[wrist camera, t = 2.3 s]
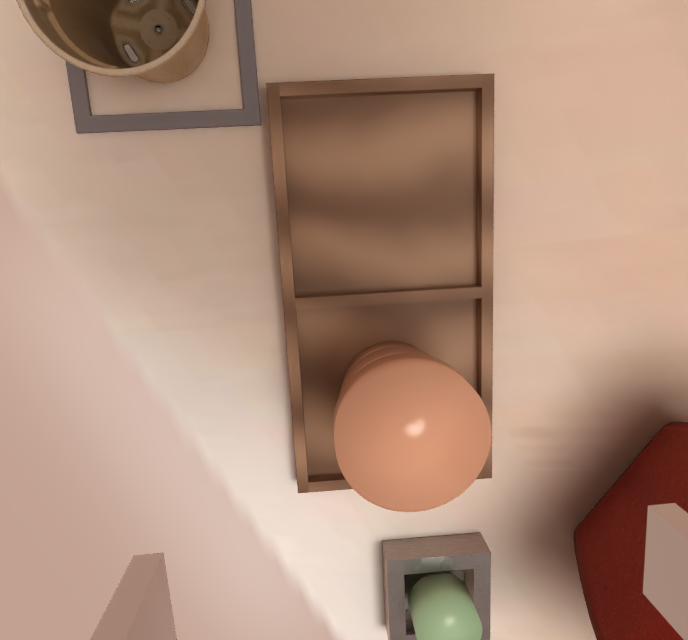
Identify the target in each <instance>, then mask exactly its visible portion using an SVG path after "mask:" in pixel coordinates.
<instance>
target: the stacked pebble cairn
mask: <svg viewBox="0 0 688 640" xmlns="http://www.w3.org/2000/svg"><path fill="white" fill-rule="evenodd" d="M333 433H334V444H335V452H336V458H337V461H338V465H339V467H340V470H341V472H342V474H343V476H344V477H345V479H346V480H347V482H348V483H349V484H350V486H351V487H352V488H353V489H354V490H355V491H356V492H357V493H358V494H359V495H360V496H362V497H363V498H365V499H366V500H368V501H369V502H371V503H373V504H375V505H377V506H380V507H382V508H385V509H389V510H394V511H401V512H417V511H424V510H429V509H432V508H436V507H438V506H441V505H443V504H446V503H447V502H449V501H451V500H453V499H454V498H456V497H457V496H459V495H460V494H462V493H463V492H464V491H465V490H466V489H467V488H468V487H469V486H470V485H471V484H472V483H473V482H474V481H475V479H476V478H477V476H478V475H479V474H480V472H481V470H482V468H483V466H484V464H485V462H486V459H487V457H488V454H489V449H490V445H491V424H490V419H489V415H488V412H487V410H486V407H485V405H484V403H483V401H482V399H481V398H480V396H479V395H478V393H477V392H476V391H475V390H474V388H473V387H472V386H471V385H470V384H469V383H468V382H467V381H466V380H465V379H464V378H463V376H462V375H461V374H460V373H459V372H458V371H457V370H456V369H454V368H453V367H452V366H450V365H449V364H447V363H446V362H444V361H442V360H440V359H438V358H435V357H433V356H431V355H429V354H428V353H426V352H424V351H422V350H420V349H418V348H416V347H415V346H413V345H410V344H408V343H404V342H399V341H385V342H380V343H376V344H374V345H371V346H369V347H367V348H366V349H364V350H363V351H361V352H360V353H359V354H358V355H357V356H355V357H354V359H353V360H352V361H351V362H350V364H349V366H348V367H347V369H346V372H345V374H344V377H343V382H342V386H341V389H340V393H339V398H338V401H337V403H336V407H335V410H334V417H333Z"/></svg>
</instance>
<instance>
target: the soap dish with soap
mask: <svg viewBox="0 0 688 640" xmlns="http://www.w3.org/2000/svg"><path fill="white" fill-rule="evenodd" d="M382 545H383V569H384V593H385V617H386V630H387V635H388V640H417V638H416V634H415V630H414V625H413V621H412V617H411V613H410V610H409V611H405V586H404V575H407V574H418V573H430V572H441V571H453V570H464V569H465V585H466V587H467V589H468V591H469V594H470V596H471V599H472V601H473V603H474V606H475V608H476V611H477V613H478V616H479V618H480V621H481V623H482V636H481V639H480V640H490V567H491V552H490V550H489V548H488V546H487V544H486V543H485V541H484V539H483V537H482V535H481V533H470V534H458V535H446V536H434V537H422V538H410V539H398V540H386V541H382Z"/></svg>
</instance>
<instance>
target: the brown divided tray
mask: <svg viewBox="0 0 688 640" xmlns="http://www.w3.org/2000/svg"><path fill="white" fill-rule="evenodd" d="M266 85H267V98H268V111H269V124H270V137H271V150H272V163H273V175H274V188H275V201H276V214H277V227H278V240H279V253H280V266H281V279H282V291H283V304H284V317H285V330H286V343H287V356H288V369H289V382H290V395H291V408H292V420H293V433H294V446H295V459H296V472H297V485H298V493H307V492H319V491H332V490H345V489H353V488H352V487H351V486H350V484H349V483H348V482H347V480H346V479H345V477H344V476H343V474H342V472H341V470H340V467H339V465H338V461H337V458H336V452H335V444H334V433H333V417H334V410H335V407H336V403H337V401H338V398H339V393H340V389H341V386H342V382H343V377H344V374H345V372H346V369H347V367H348V366H349V364H350V362H351V361H352V360H353V359H354V357H355V356H357V355H358V354H359V353H360V352H361V351H363V350H364V349H366V348H367V347H369V346H371V345H374V344H376V343H380V342H385V341H399V342H404V343H408V344H410V345H413V346H415V347H416V348H418V349H420V350H422V351H424V352H426V353H428V354H429V355H431V356H433V357H435V358H438V359H440V360H442V361H444V362H446V363H447V364H449V365H450V366H452V367H453V368H454V369H456V370H457V371H458V372H459V373H460V374H461V375H462V376H463V378H464V379H465V380H466V381H467V382H468V383H469V384H470V385H471V386H472V387H473V388H474V390H475V391H476V392H477V393H478V395H479V396H480V398H481V399H482V401H483V403H484V405H485V407H486V410H487V412H488V415H489V419H490V424H491V445H490V449H489V454H488V457H487V459H486V462H485V464H484V466H483V468H482V470H481V472H480V474H479V475H478V476H477V478H476V479H484V478H492V366H493V204H494V74H474V75H450V76H426V77H402V78H379V79H355V80H331V81H307V82H283V83H266Z"/></svg>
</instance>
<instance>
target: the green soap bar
mask: <svg viewBox="0 0 688 640" xmlns="http://www.w3.org/2000/svg"><path fill="white" fill-rule="evenodd" d="M408 604H409V609H410V613H411V617H412V621H413V625H414V630H415V634H416V638H417V640H480V639H481V636H482V623H481V621H480V618H479V616H478V613H477V611H476V608H475V606H474V603H473V601H472V599H471V596H470V594H469V591H468V589H467V587H466V585H465V583H464V582H463V581H462V580H461V579H460V578H458V577H457V576H455V575H453V574H450V573H444V572H438V573H433V574H429V575H427V576H425V577H423V578H421V579H420V580H419V581H418V582H417V583H416V584H415V585H414V586H413V588H412V589H411V591H410V594H409V598H408Z"/></svg>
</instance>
